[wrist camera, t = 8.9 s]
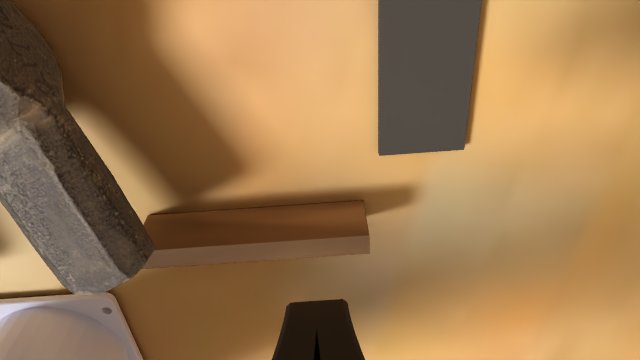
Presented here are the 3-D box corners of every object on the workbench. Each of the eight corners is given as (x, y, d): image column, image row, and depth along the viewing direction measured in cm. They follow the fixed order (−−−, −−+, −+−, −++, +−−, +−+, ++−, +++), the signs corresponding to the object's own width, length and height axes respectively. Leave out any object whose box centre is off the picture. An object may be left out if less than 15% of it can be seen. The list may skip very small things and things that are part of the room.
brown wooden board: (363, 217, 22) (369, 253, 20) (153, 232, 22) (137, 269, 20) (352, -279, 12) (362, -311, 10) (-12, -247, 13) (-75, -272, 11)
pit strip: (462, 146, 20) (464, 149, 20) (378, 152, 20) (379, 155, 20) (494, -136, 14) (497, -136, 14) (378, -126, 14) (379, -126, 14)
